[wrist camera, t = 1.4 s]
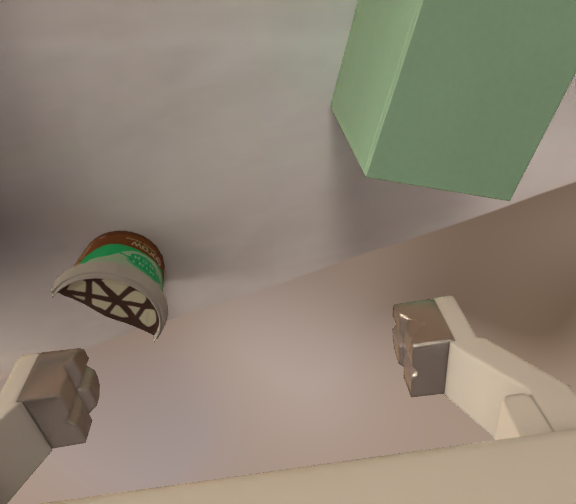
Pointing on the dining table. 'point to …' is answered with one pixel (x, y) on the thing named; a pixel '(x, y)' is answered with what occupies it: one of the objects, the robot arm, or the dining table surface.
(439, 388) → the robot arm
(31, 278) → the dining table surface
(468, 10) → the green box
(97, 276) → the food container
